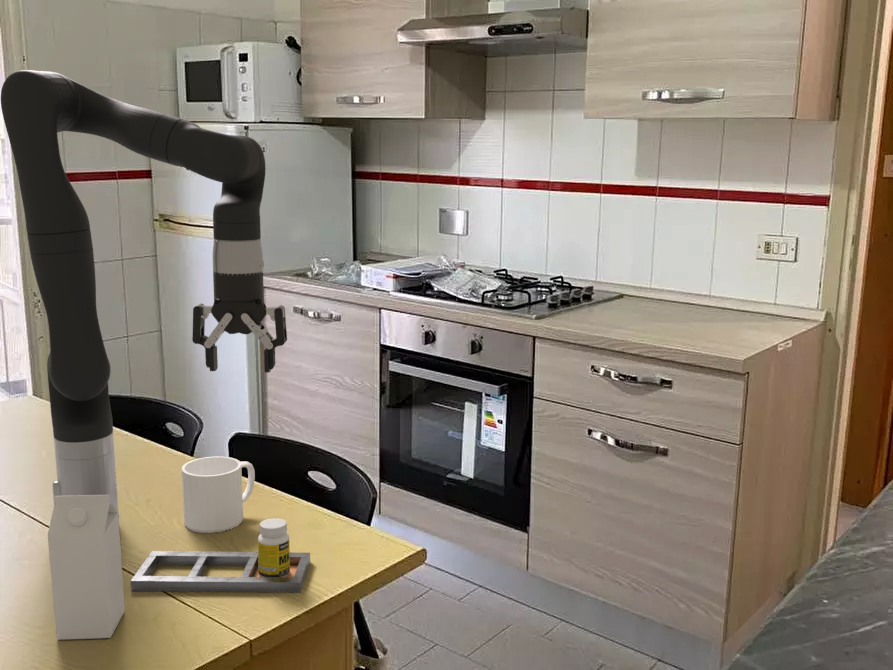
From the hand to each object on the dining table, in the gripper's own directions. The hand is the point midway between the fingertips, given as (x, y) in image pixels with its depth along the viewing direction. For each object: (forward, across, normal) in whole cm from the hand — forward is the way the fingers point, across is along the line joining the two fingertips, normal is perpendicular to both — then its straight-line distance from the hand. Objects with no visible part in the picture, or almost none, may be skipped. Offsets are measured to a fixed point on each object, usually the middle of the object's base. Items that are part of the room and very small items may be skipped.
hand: (241, 370), depth 142 cm
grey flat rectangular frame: (+30, -1, -10) cm, 32 cm away
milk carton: (+30, -16, -25) cm, 42 cm away
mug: (+30, -7, +11) cm, 33 cm away
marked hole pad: (+30, +7, -10) cm, 32 cm away
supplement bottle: (+30, +6, -10) cm, 32 cm away
